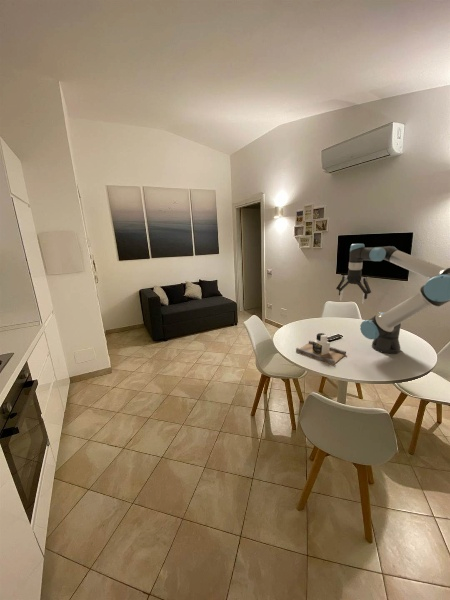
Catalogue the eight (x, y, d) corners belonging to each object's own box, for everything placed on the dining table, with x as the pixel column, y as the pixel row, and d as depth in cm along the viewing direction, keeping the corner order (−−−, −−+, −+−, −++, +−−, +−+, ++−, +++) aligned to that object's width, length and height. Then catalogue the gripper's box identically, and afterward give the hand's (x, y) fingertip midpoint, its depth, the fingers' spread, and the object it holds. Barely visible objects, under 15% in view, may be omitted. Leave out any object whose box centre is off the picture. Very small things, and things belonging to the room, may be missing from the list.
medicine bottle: (312, 351, 152) (313, 333, 149) (320, 348, 155) (321, 331, 152) (321, 355, 146) (322, 337, 143) (329, 353, 149) (331, 335, 146)
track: (345, 354, 147) (346, 351, 147) (333, 364, 137) (333, 361, 136) (309, 343, 165) (309, 340, 164) (296, 351, 154) (296, 348, 154)
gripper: (332, 268, 157) (330, 300, 163) (375, 271, 139) (371, 306, 144) (337, 267, 162) (335, 297, 167) (379, 270, 144) (375, 304, 149)
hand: (351, 302), depth 156 cm, fingers open, 13 cm apart
